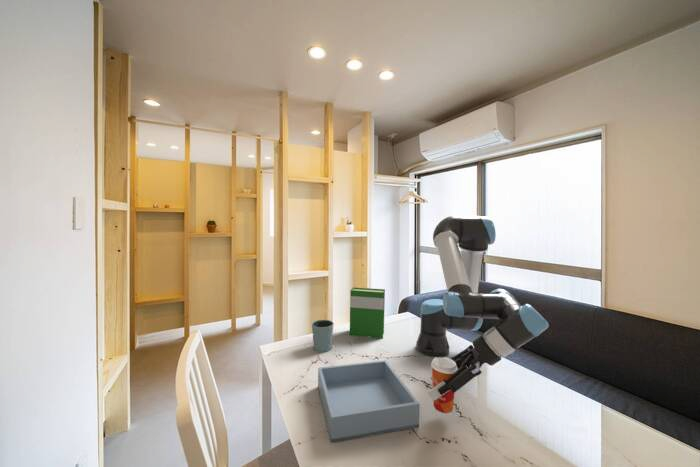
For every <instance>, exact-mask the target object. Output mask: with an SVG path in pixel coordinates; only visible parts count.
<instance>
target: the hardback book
mask: <svg viewBox="0 0 700 467" xmlns="http://www.w3.org/2000/svg"><path fill="white" fill-rule="evenodd" d="M385 292H386V289H384V288H370V287H368V288H366V287H352V288H351V289H350V298H349V299H350V300H349V303H350V304H349V336H354V337H363V338H372V339H373V338H374V339H375V338H376V339H384V333H385V305H386V304H385V300H386V299H385V298H386V297H385V296H386V295H385Z"/></svg>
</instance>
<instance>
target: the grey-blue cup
mask: <svg viewBox="0 0 700 467" xmlns="http://www.w3.org/2000/svg"><path fill="white" fill-rule="evenodd" d="M311 330H312V340H313V343H312V344H313V350H314V351H316V352H318V353H327V352H330V351H331V350H332V348H333V332H334V321H332V320H330V319H318V320H314V321H312V323H311Z"/></svg>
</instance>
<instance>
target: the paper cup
mask: <svg viewBox="0 0 700 467" xmlns="http://www.w3.org/2000/svg"><path fill="white" fill-rule="evenodd" d="M430 367H431V368H432V369H431V373H432V374H431V376H432V379H433V381H432V388H434V387H435V386H436V385H438V384H439V383H441V382H442V381H443V380H444V379H445V380H446V381H447V380H448V379H449V378H450V377H451V376H452V375H453V374H454V373H455V372H456V371H457V370H458V368H457V365H456V363H455V362H454V361H453V360H452V359H451V358H449V357H446V356H443V357H434V358H433V359H432V361H431V363H430ZM432 401H433V407H434V410H435V409H436V411H438V412H440V413H442V414H450V413H452V412H453V410H454V402H455V393H453V392H452V391H451V390H450V391H448V392H447V393H445V394H444V395H442V396H441V397H439V398H438V399H436V400H435V401H434V400H433V399H432Z"/></svg>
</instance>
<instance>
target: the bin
mask: <svg viewBox="0 0 700 467" xmlns="http://www.w3.org/2000/svg"><path fill="white" fill-rule="evenodd" d="M317 373H318V374H317V388H318V392H319V396H320V401H321V405H322V410H323V414H324V417H325V423H326V427H327V432H328V437H329V441H330V444H334V443H335V444H336V443H341V442H345V441H350V440H356V439H357V440H358V439H363V438H367V437H373V436H378V435H384V434H389V433H395V432H401V431H406V430H412V429H417V428H420V412H421V411H420V410H421V407H420V406H421V404H420V402H419V401H418V399H417V398H416V397H415V396H414V395H413V393H412V392H411V391H410V389H409V388H408V387H407V385H406V384H405V382H403V380H402V378H401V377H400V376H399V375H398V373H397V372H396V371H395V369H393V367H392V366H391V365H390V363H389V362H388V360H387V359H384V360H377V361H366V362H365V361H364V362H359V363H358V362H357V363H350V364H349V363H348V364H339V365H331V366H329V365H328V366H321V367H320V366H319V367H318V369H317Z"/></svg>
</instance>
